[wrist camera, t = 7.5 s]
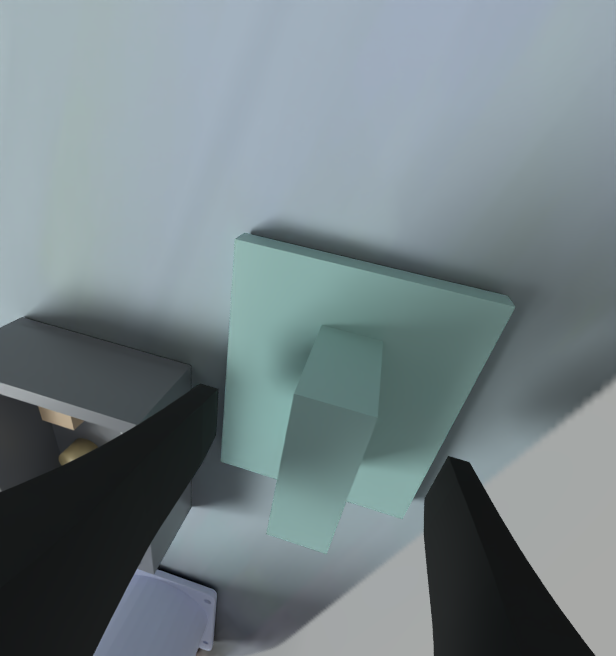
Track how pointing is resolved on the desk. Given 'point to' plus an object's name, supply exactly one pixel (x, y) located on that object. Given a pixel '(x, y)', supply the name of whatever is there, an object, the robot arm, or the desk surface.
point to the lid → (345, 379)
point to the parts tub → (79, 405)
